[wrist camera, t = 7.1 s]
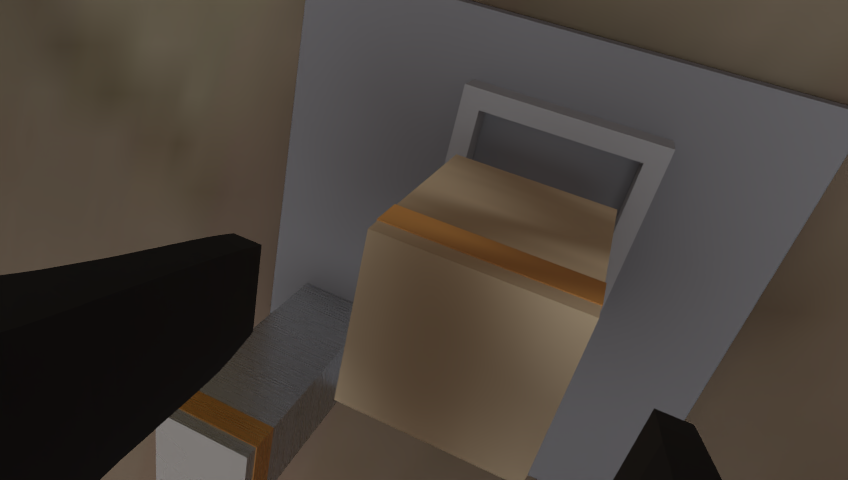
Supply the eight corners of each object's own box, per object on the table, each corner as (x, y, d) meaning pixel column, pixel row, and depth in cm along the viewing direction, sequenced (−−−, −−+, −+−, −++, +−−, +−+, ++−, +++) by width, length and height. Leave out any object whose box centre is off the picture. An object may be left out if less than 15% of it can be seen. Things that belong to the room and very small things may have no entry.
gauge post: (375, 310, 22) (247, 457, 15) (362, 369, 23) (240, 528, 16) (306, 281, 23) (155, 410, 16) (298, 341, 24) (155, 482, 17)
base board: (858, 108, 15) (885, 123, 13) (624, 498, 22) (622, 540, 21) (326, -40, 18) (292, -43, 17) (278, 341, 26) (251, 366, 24)
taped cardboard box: (618, 209, 13) (600, 317, 9) (560, 344, 15) (522, 488, 11) (455, 153, 14) (367, 227, 10) (420, 287, 16) (333, 399, 11)
